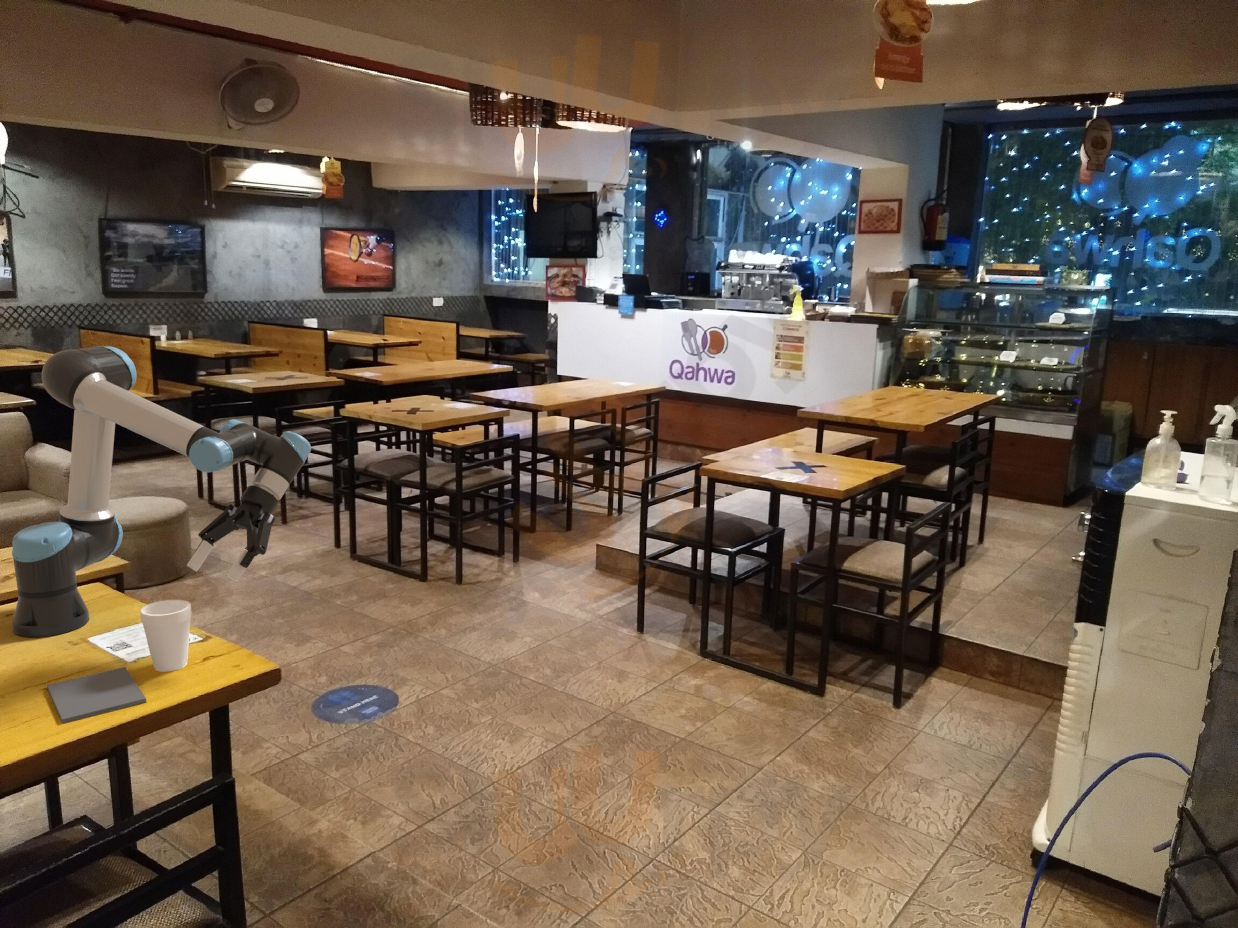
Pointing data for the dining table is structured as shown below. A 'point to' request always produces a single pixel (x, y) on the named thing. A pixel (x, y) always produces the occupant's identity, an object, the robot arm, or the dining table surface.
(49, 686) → the rubber mat
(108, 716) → the dining table surface
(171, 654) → the foam cup
